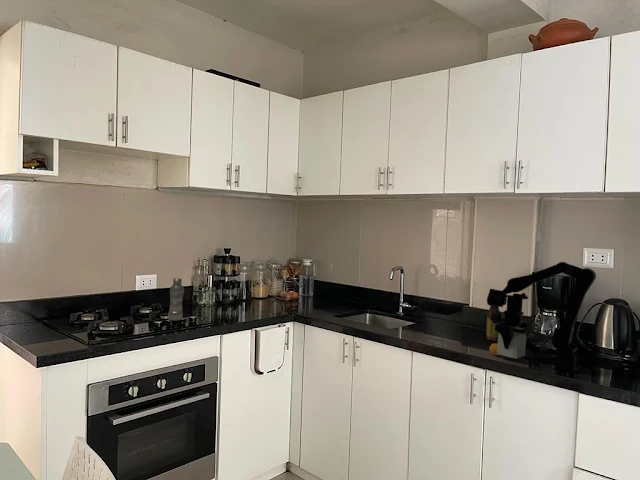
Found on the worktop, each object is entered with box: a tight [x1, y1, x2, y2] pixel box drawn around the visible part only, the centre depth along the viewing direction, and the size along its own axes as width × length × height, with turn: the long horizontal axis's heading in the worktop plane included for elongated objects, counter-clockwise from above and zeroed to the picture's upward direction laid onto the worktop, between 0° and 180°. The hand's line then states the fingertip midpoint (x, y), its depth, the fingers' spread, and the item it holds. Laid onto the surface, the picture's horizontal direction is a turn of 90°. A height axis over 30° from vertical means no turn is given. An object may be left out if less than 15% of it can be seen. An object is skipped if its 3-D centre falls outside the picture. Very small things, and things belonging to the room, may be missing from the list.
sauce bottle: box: [486, 305, 502, 342], centre depth 233 cm, size 6×6×20 cm
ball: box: [489, 342, 500, 357], centre depth 203 cm, size 5×5×5 cm
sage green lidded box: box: [497, 332, 527, 360], centre depth 198 cm, size 8×8×9 cm
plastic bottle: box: [167, 277, 185, 322], centre depth 234 cm, size 6×7×20 cm
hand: (511, 347), depth 198 cm, fingers closed on sage green lidded box, 8 cm apart
